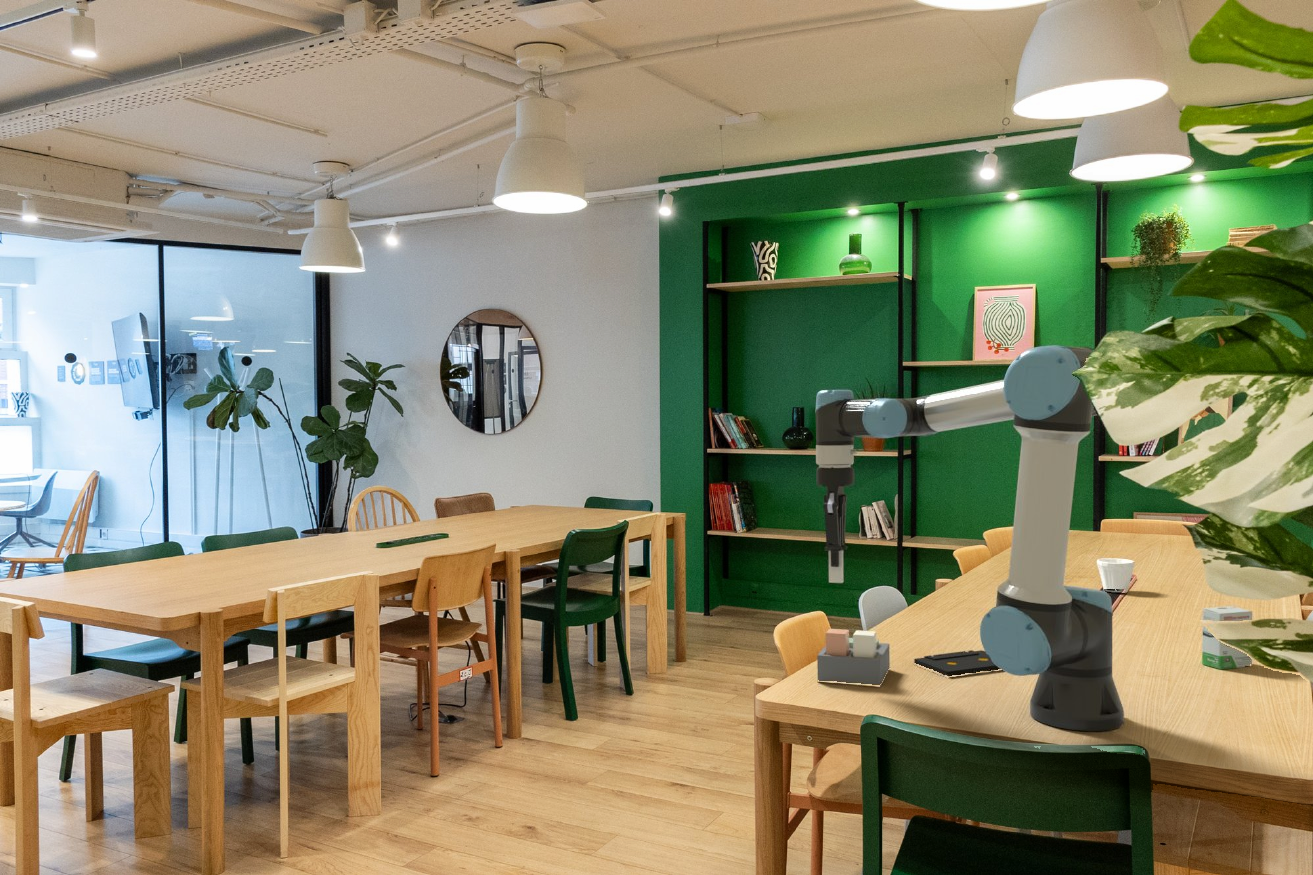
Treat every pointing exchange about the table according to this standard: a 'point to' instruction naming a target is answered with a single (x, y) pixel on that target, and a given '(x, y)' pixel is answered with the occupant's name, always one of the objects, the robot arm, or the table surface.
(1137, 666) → the table surface
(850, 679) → the grey open box
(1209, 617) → the ink box
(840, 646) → the pink block
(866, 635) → the cream block
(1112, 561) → the cup
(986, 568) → the table surface
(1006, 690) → the table surface
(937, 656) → the black flat panel
